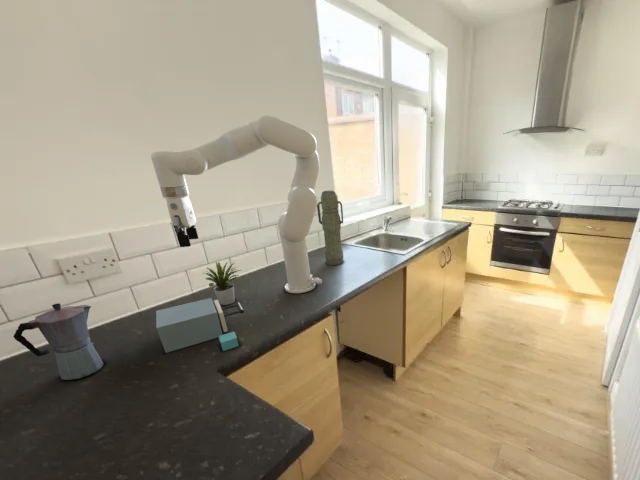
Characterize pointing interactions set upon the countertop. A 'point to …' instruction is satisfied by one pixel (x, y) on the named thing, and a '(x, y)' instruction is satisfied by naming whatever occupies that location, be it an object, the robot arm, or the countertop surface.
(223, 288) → the house plant
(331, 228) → the thermos
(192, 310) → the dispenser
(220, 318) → the drawer
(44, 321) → the moka pot
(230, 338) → the teal block
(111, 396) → the countertop surface
